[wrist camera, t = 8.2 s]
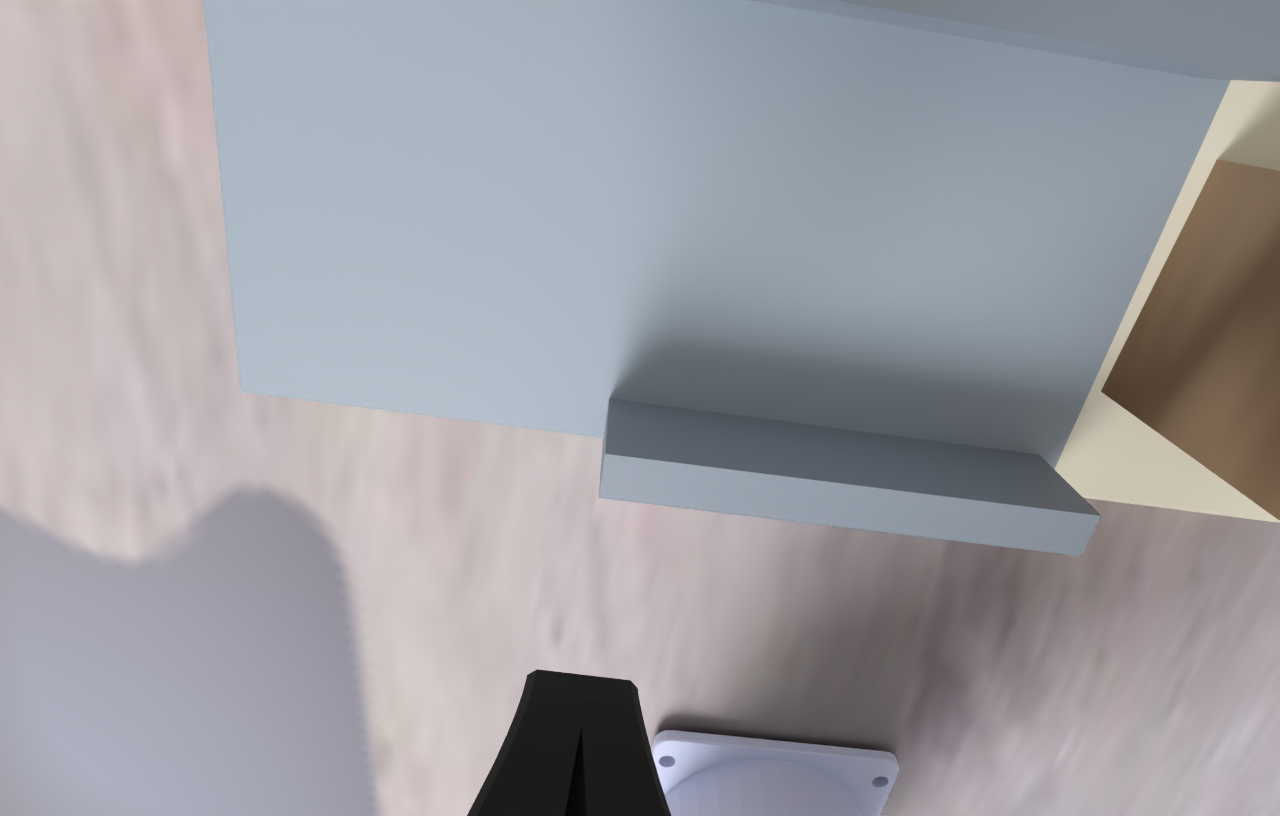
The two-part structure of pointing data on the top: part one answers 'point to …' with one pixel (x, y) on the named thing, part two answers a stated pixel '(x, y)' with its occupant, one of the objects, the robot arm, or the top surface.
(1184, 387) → the block
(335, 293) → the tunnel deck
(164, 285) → the top surface
